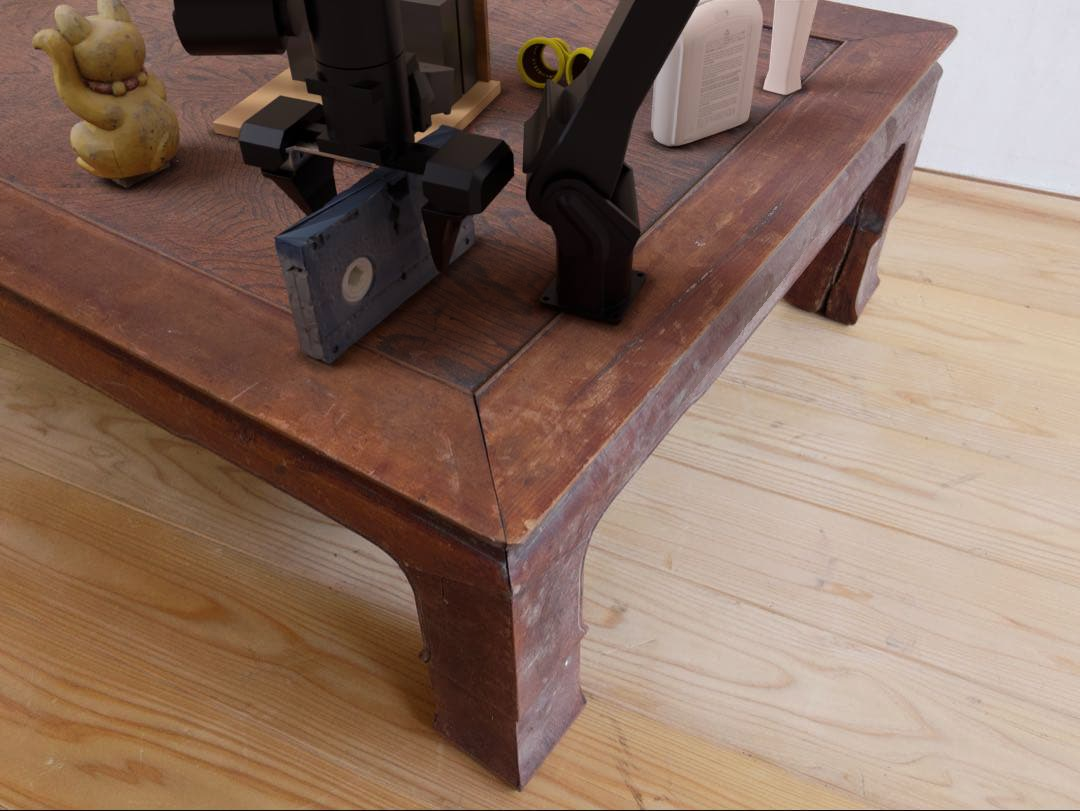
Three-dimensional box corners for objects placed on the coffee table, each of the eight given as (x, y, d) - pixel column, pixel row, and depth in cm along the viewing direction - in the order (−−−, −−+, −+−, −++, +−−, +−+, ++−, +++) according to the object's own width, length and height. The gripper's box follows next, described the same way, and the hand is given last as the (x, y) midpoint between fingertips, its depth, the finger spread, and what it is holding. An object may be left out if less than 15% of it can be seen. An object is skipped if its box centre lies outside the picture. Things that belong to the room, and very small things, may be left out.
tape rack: (415, 177, 88) (401, 55, 80) (215, 133, 94) (184, 17, 87) (501, 92, 100) (495, -21, 92) (317, 58, 106) (298, -50, 99)
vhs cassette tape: (453, 232, 81) (442, 121, 74) (481, 243, 80) (473, 131, 73) (295, 353, 70) (266, 235, 63) (325, 367, 69) (299, 249, 62)
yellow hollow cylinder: (621, 96, 100) (627, 45, 98) (596, 107, 96) (602, 55, 94) (541, 75, 104) (545, 26, 101) (514, 84, 100) (517, 34, 98)
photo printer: (725, 106, 97) (741, -23, 88) (755, 123, 94) (774, -8, 86) (643, 135, 93) (651, 3, 84) (672, 153, 90) (683, 19, 82)
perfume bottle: (811, 82, 100) (839, -74, 90) (794, 99, 97) (821, -60, 87) (769, 72, 102) (792, -82, 92) (751, 88, 99) (773, -69, 89)
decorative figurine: (148, 136, 94) (97, -25, 84) (213, 155, 91) (169, -9, 81) (70, 182, 88) (5, 15, 78) (137, 204, 85) (78, 34, 75)
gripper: (545, 23, 64) (547, 226, 75) (305, -15, 70) (339, 179, 81) (469, 95, 57) (484, 308, 68) (208, 47, 63) (260, 250, 73)
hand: (389, 255), depth 73 cm, fingers open, 9 cm apart
